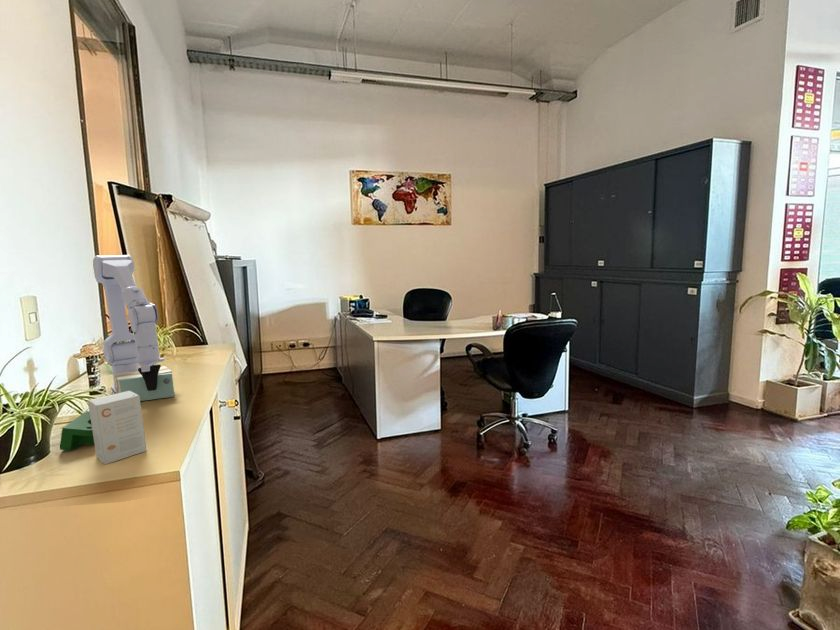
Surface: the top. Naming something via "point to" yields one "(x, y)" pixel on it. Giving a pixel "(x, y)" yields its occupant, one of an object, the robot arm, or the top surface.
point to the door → (139, 387)
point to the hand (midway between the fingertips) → (152, 389)
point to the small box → (117, 426)
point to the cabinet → (135, 374)
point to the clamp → (77, 432)
